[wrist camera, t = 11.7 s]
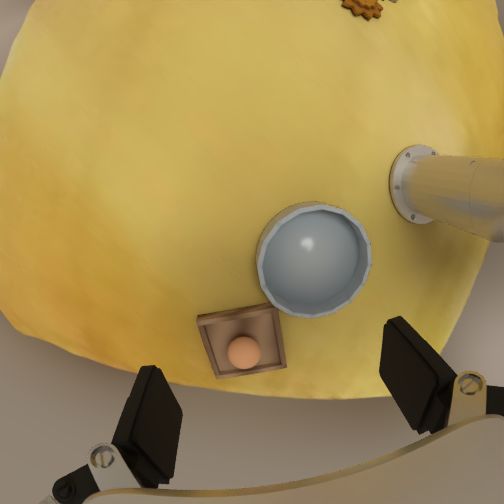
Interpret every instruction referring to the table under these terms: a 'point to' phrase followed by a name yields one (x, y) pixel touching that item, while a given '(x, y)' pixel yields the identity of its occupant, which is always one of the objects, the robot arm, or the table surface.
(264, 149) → the table surface
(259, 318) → the tray
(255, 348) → the ball
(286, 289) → the bowl
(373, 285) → the table surface
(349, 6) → the gear puzzle
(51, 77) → the table surface
